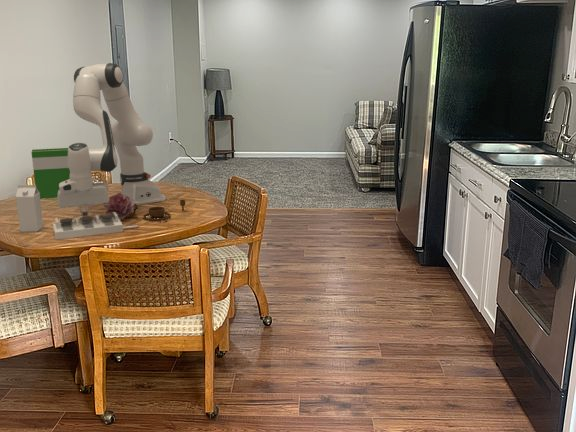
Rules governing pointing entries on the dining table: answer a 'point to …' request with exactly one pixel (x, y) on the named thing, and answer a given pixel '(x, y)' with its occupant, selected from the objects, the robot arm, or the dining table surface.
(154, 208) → the place setting
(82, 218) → the rocker middle
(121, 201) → the flower
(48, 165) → the hardback book
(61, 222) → the rocker far end
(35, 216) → the milk carton
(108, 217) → the rocker near arm
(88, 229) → the power strip
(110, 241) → the dining table surface
